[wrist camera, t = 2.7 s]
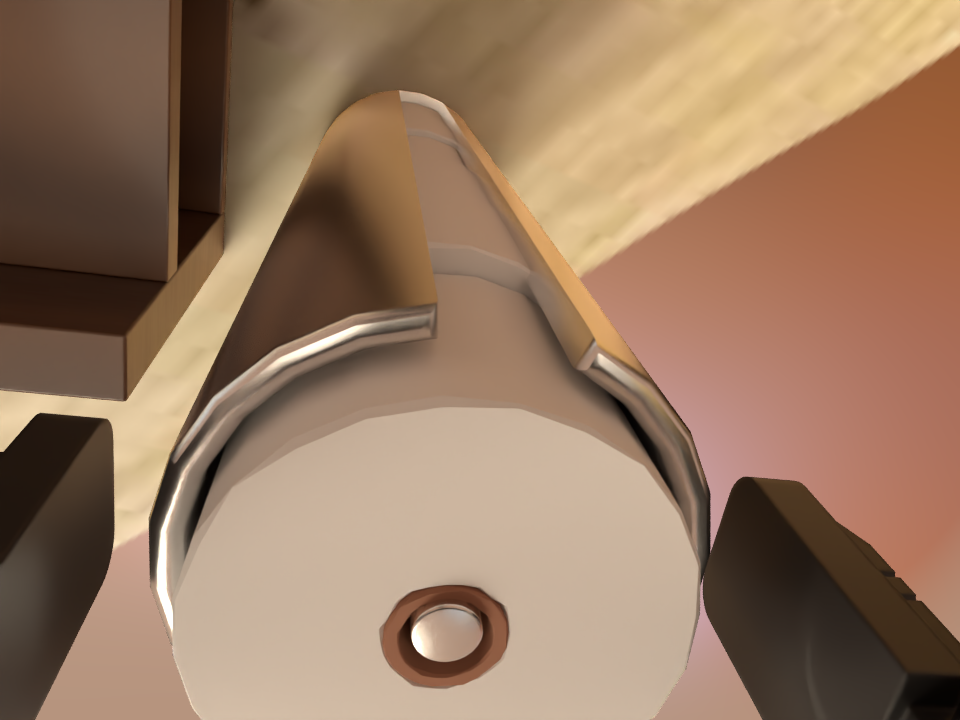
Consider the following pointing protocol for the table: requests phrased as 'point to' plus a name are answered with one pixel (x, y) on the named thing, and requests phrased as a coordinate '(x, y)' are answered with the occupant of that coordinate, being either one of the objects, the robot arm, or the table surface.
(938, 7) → the table surface
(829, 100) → the table surface
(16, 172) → the shelf
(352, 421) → the beige cylinder
